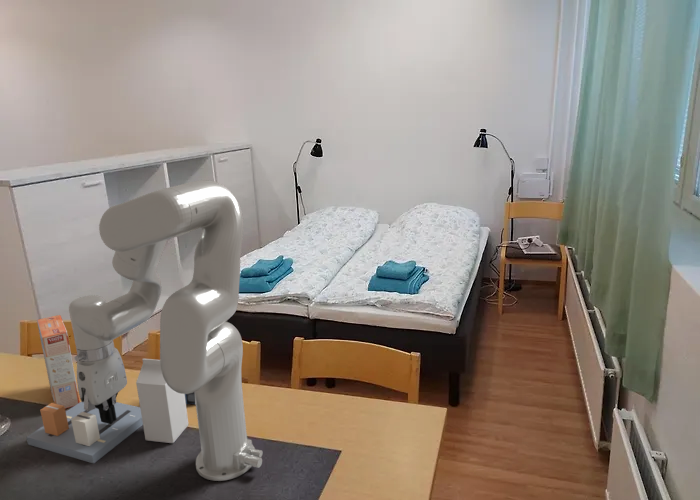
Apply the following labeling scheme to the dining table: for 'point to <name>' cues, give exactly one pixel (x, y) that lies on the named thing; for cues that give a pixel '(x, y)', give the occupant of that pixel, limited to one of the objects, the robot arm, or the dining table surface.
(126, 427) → the fader console
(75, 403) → the cracker box
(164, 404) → the milk carton
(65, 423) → the orange fader knob
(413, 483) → the dining table surface
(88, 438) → the cream knob
